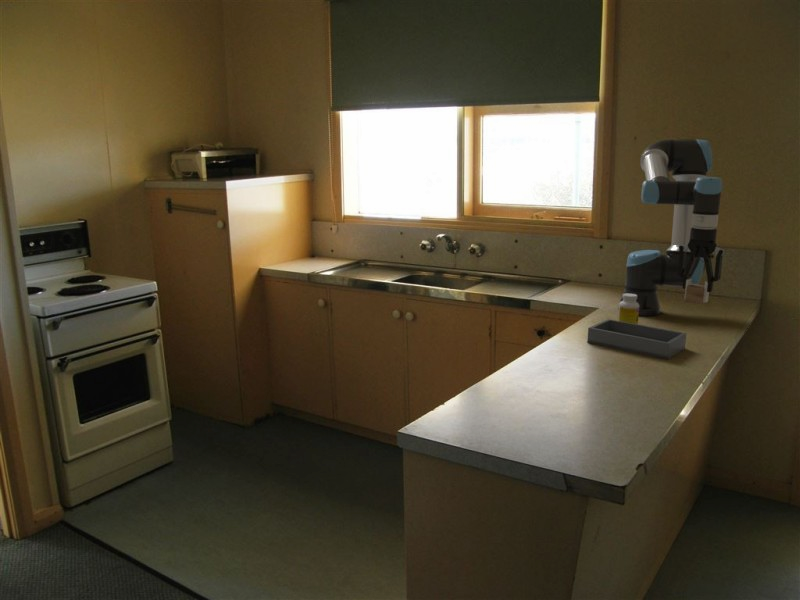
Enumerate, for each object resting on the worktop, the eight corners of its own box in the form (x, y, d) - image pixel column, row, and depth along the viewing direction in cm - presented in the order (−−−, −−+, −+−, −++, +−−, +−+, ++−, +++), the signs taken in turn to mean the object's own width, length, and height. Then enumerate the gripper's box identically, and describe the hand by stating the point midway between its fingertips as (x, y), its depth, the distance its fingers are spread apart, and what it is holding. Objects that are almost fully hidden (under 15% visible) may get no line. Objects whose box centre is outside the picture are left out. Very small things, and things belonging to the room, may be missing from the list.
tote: (607, 333, 238) (608, 318, 237) (684, 348, 221) (686, 333, 220) (587, 342, 227) (588, 327, 225) (667, 359, 210) (669, 343, 209)
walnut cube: (690, 299, 226) (692, 283, 225) (706, 301, 223) (708, 286, 222) (685, 301, 222) (686, 286, 221) (701, 304, 219) (703, 288, 218)
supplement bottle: (638, 334, 237) (641, 297, 234) (617, 333, 238) (620, 296, 235) (635, 329, 243) (639, 293, 240) (616, 328, 244) (618, 292, 241)
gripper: (670, 226, 220) (663, 298, 225) (731, 231, 209) (722, 307, 214) (678, 223, 225) (671, 294, 231) (738, 229, 214) (729, 302, 220)
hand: (696, 300), depth 222 cm, fingers closed on walnut cube, 5 cm apart
